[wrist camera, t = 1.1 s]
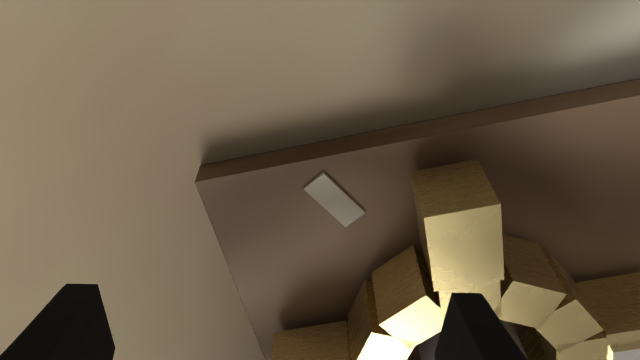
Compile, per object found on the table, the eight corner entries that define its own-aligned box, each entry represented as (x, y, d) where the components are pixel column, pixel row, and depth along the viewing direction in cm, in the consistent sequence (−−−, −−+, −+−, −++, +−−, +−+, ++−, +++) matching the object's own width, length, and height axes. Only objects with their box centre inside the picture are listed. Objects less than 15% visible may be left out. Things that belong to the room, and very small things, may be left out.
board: (636, 388, 29) (688, 474, 25) (304, 436, 31) (303, 523, 27) (682, 70, 19) (776, 127, 16) (200, 165, 21) (175, 239, 17)
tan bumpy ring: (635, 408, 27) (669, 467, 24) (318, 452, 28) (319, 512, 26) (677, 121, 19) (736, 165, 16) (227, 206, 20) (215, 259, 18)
